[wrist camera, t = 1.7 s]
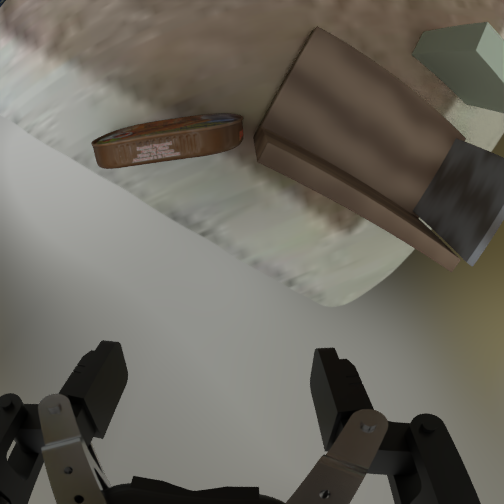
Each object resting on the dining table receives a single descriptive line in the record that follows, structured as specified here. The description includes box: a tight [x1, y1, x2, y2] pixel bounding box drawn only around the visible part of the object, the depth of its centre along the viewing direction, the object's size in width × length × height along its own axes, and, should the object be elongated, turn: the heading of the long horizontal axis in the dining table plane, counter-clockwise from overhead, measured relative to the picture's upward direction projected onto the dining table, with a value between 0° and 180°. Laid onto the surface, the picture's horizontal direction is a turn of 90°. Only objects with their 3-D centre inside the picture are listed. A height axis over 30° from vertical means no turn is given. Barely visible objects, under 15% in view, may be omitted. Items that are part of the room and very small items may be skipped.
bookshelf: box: [254, 26, 504, 272], centre depth 25 cm, size 14×22×14 cm, turn 64°
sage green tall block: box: [412, 22, 504, 113], centre depth 21 cm, size 4×10×12 cm, turn 64°
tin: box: [91, 113, 243, 169], centre depth 27 cm, size 15×3×8 cm, turn 94°
